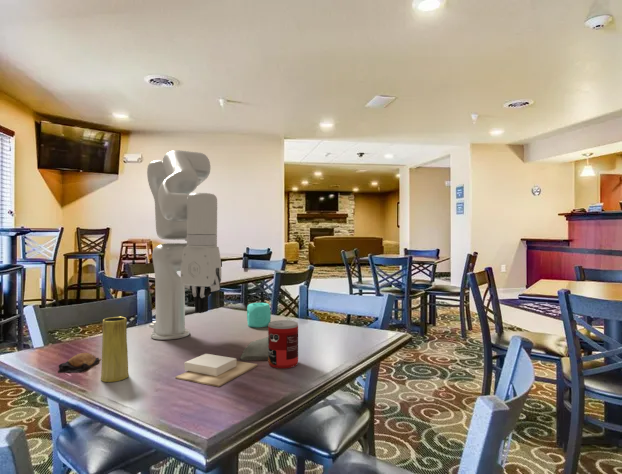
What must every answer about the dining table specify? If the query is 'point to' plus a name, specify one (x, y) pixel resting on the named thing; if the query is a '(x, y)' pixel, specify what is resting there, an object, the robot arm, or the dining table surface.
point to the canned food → (283, 344)
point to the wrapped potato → (79, 363)
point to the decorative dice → (258, 315)
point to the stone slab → (256, 350)
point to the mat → (220, 379)
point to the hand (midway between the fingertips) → (201, 311)
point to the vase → (114, 350)
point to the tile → (210, 364)
